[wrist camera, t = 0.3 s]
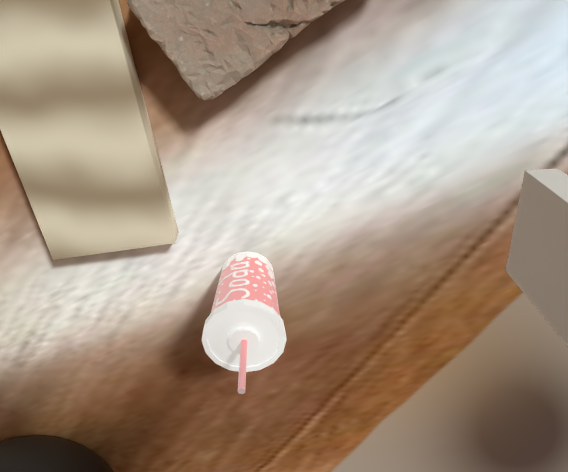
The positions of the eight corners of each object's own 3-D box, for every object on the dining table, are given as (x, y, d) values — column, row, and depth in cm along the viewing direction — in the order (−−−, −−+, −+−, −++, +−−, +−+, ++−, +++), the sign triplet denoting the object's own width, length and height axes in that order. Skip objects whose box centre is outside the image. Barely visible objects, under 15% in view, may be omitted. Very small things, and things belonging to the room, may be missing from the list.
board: (-84, -125, 30) (-105, -132, 29) (78, -151, 30) (67, -159, 28) (61, 247, 42) (52, 259, 41) (178, 231, 42) (174, 243, 40)
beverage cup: (283, 243, 43) (291, 353, 31) (281, 302, 46) (288, 425, 33) (211, 243, 43) (189, 354, 30) (214, 303, 46) (195, 426, 33)
